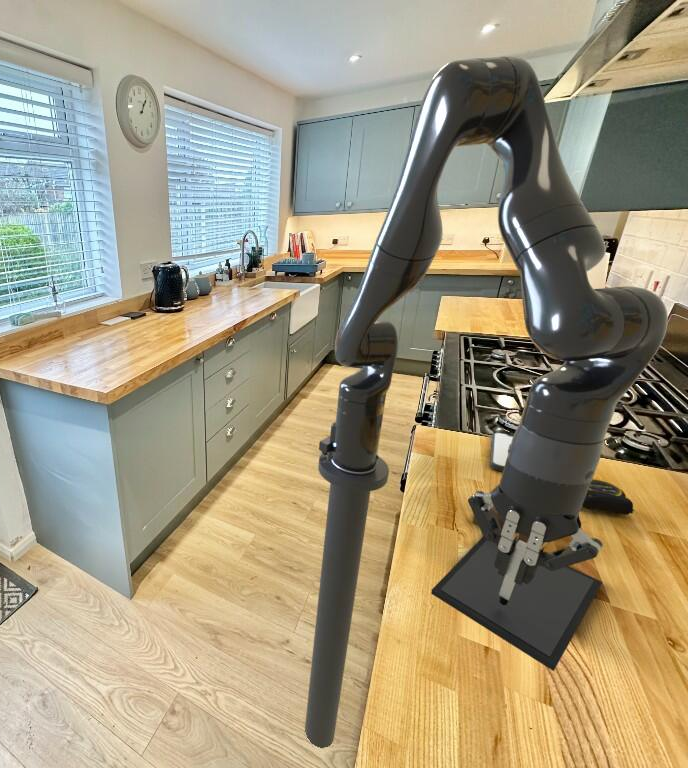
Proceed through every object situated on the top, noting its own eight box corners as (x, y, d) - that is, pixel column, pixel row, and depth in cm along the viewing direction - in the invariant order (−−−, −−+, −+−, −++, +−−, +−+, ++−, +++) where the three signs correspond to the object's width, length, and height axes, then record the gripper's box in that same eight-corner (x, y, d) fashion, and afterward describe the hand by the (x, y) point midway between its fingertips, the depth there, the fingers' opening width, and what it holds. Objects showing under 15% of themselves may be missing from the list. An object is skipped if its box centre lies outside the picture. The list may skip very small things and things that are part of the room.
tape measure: (578, 512, 74) (584, 495, 73) (563, 490, 80) (569, 473, 79) (629, 521, 71) (637, 503, 70) (611, 498, 77) (618, 481, 76)
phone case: (543, 483, 83) (539, 446, 94) (545, 476, 82) (541, 440, 94) (488, 470, 88) (491, 436, 99) (490, 463, 87) (492, 430, 99)
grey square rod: (495, 603, 56) (516, 543, 53) (498, 598, 57) (519, 539, 54) (506, 609, 55) (527, 548, 52) (509, 604, 56) (531, 544, 53)
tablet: (430, 593, 60) (431, 588, 60) (488, 533, 71) (490, 528, 70) (553, 671, 49) (556, 666, 49) (600, 586, 60) (603, 581, 60)
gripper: (640, 477, 45) (589, 595, 51) (493, 431, 55) (466, 534, 62) (623, 506, 41) (570, 630, 47) (468, 450, 51) (442, 558, 58)
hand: (511, 575), depth 54 cm, fingers closed on grey square rod, 1 cm apart
